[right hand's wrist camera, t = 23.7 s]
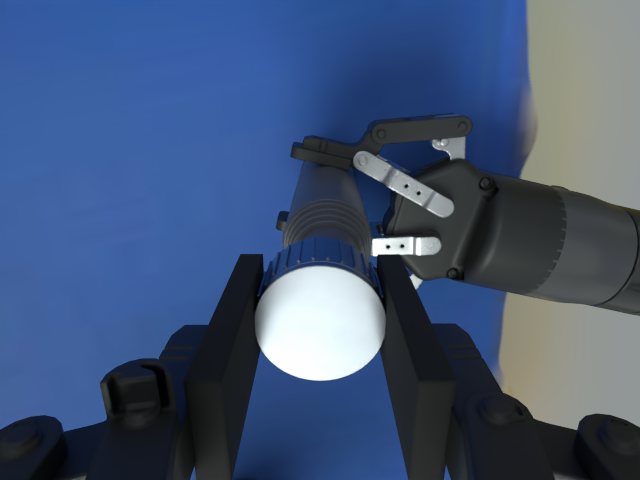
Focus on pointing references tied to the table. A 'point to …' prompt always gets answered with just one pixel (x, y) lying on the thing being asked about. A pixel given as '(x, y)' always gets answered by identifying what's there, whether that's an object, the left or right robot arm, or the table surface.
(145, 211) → the table surface
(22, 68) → the table surface
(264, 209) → the table surface
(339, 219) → the dark grey long cylinder
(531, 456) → the right robot arm
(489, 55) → the table surface
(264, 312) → the cap
